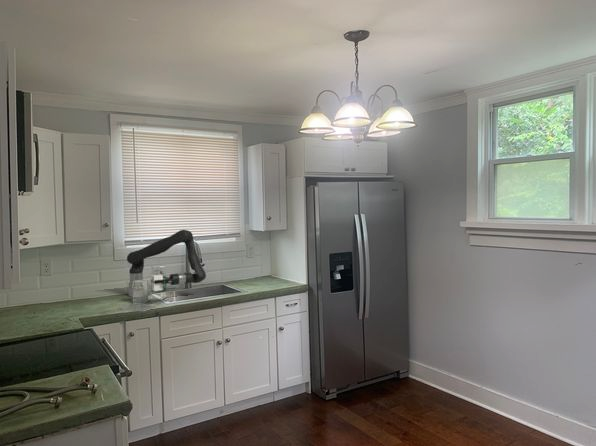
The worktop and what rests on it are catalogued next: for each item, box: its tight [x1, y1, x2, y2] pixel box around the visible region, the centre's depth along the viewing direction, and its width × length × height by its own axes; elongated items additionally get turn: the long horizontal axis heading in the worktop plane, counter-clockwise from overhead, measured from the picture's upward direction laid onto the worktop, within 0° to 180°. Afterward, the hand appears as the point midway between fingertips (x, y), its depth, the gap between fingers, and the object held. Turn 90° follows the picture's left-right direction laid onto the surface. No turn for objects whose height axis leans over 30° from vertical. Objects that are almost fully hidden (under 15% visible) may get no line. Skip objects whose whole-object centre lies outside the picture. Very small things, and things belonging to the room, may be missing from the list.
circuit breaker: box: [132, 279, 152, 305], centre depth 315 cm, size 8×14×15 cm, turn 174°
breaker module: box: [150, 274, 164, 292], centre depth 301 cm, size 4×7×10 cm, turn 128°
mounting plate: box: [118, 303, 157, 312], centre depth 295 cm, size 20×12×1 cm, turn 68°
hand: (153, 281), depth 299 cm, fingers closed on breaker module, 4 cm apart
